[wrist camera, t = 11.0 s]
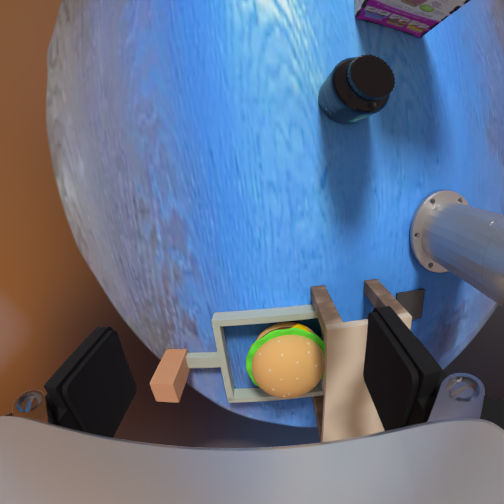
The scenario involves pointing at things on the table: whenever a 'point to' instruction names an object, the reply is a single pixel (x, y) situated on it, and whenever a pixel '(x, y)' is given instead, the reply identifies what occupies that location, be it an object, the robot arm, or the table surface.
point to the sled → (224, 357)
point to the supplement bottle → (356, 89)
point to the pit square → (412, 302)
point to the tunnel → (348, 366)
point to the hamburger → (286, 360)
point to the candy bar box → (407, 13)
